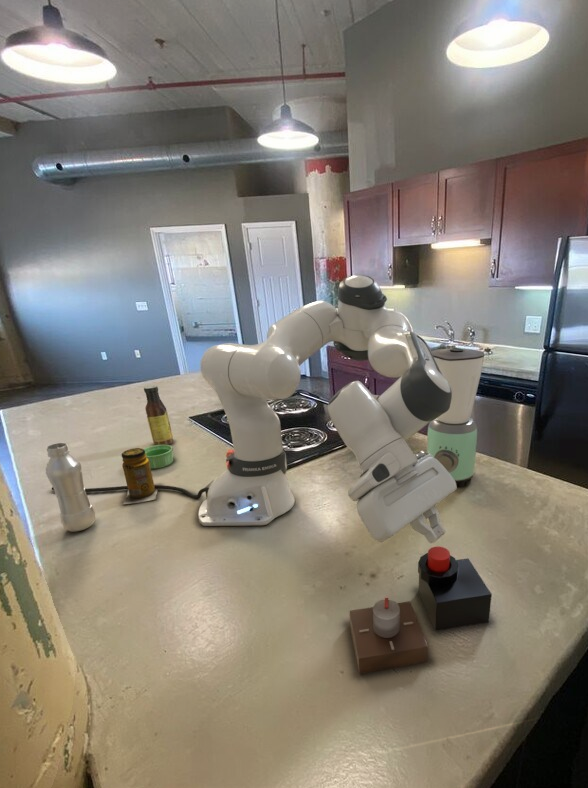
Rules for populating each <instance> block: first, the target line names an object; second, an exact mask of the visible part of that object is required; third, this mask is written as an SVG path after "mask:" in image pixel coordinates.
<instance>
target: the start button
mask: <svg viewBox="0 0 588 788" xmlns="http://www.w3.org/2000/svg"><path fill="white" fill-rule="evenodd" d="M427 553H428V564H427V565H428V568H429V569H430V570H432V571H434V572H439V573H440V572H446V571H447V570H448V569H449V564H450V555H451V552H450V551H449V550H448V549H447V548H446V547H443V546H433V547H430V548H429V549H428V550H427Z"/></svg>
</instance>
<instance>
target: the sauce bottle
mask: <svg viewBox="0 0 588 788" xmlns="http://www.w3.org/2000/svg"><path fill="white" fill-rule="evenodd" d="M143 391H144V393H145V395H146V405H145V414H146V419H147V423H148V427H149V431H150V435H151V438H152V439H151V440H152V442H153V446H155V445H172V444H173V442H174V436H173V432H172V427H171V423H170V417H169V414H168V410H167V407H166V406H165V404H164V403H163V401H162V399H161V397H160V394H159V387H158V385H148V386H144V387H143Z"/></svg>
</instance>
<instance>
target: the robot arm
mask: <svg viewBox="0 0 588 788" xmlns="http://www.w3.org/2000/svg"><path fill="white" fill-rule="evenodd" d="M337 299H338V302H337V307H336V306H334V305H333V304H332V303H330V302H328V301H326V300H317V301H313V302H310V303H307V304H305V305H301V306H300V307H298V308H297V309H295V310H294V311H292V312H290V313H289V314H286V315H285V316H284V317H282V318H281V319H279V320H277V321H276V322H274V323H272V324H271V325H270V326H269V328H268V329H267V331H266V339H265V340H264V341H263V342H260V343H256V344H244V343H243V344H242V343H236V342H235V343H233V342H226V343H225V342H224V343H220V344H216V345H212V346H210V347H208V348H207V349H206V350H205V351H204V353H203V354H202V356H201V359H200V364H199V365H200V372H201V376H202V377H203V378H204V380H205V381H206V382H207V383H208V385H210V386H211V388H212V389H213V390H214V392H215V394H216V396H217V398H218V400H219V402H220V405H221V407H222V409H223V411H224V414H225V416H226V419H227V422H228V425H229V429H230V435H231V440H232V447H233V448H232V449H231V448H230V449H228V450H227V452H226V455H225V457H226V460H225V462H226V463H225V464H226V468H227V469H226V470H225V471H223V472H222V473H221V474H220V475H218V476H217V477H215V478H214V479H213V480H211V481H210V482H209V483H208V484H207V485H206V486H204V487H203V488H201V489H199V491H198V493H197V494H194V493H192V492H190V491H188V490H186V489H184V488H182V487H177V486H173V485H163V484H154V486H155V488H154V489H158V490H169V491H175V492H180V493H183V494H184V495H185V496H187V497H190V498H192V499H196V500H197V499H200V498H201V497H202V495H203V493H205V499H204V500H203V501H202V503H201V504H200V506H199V509H198V516H197V517H198V522H199V524H200V525H202V526H204V527H225V526H228V527H229V526H231V527H232V526H233V527H234V526H236V527H237V526H238V527H239V526H266V525H268V524H270V523H271V522H272V521H273V520H274V519H275V518H278V517H281V516H282V515H285V514H286V513H287V512H288V511H290V510H291V509H292V508H293V507H294V505H295V502H296V500H295V499H296V498H295V497H294V495H293V492H292V489H291V487H290V484H289V479H288V474H287V470H288V463H287V454H286V450H285V448H284V446H283V435H282V427H281V420H280V417H279V416H278V414H277V412H275V410H273V408H272V407H271V406H270V404H269V403H268V401H273V400H284V399H288V398H290V397H292V396H293V395H294V394H295V393H296V392H297V390H298V388H299V387H300V384H301V383H300V382H301V377H302V373H301V365H302V364H304V362H305V361H307V360H308V359H309V358H311V357H312V356H313V355H315V354H316V353H317V352H318V351H320V350H321V349H322V348H323V347H324V346H326V345H327V344H328V343H331V342H333V343H332V344H333V347H334V348H335V350H336V351H337V352H340V353H342V355H344V356H345V357H347V358H349V359H351V360H353V361H356V362H357V361H359V362H363V361H368V362H369V364H370V366H371V368H372V369H373V370H374V371H375V372H376V373H378V374H379V375H380V376H383V377H386V378H392V379H395V378H396V379H397V378H398V379H397V380H395V381H394V383H392V384H391V385H390V386H389V387H388V388H387V389H386V390H385V391H384V392H383V393H382V394H380V395H379V394H373V393H371V391H370V390H369V389H368V388H367V387H366V386H365V385H364V383H362V381H359V380H353V381H350V382H349V383H346V385H344V386H343V387H342V388H340V389H339V390H338V391H337V392H336V393H334V395H333V396H332V397H331V398H330V399H329V401H328V404H327V409H326V410H327V412H328V416H329V418H330V420H331V422H332V424H333V427H334V428H335V430H336V432H337V433H338V436H339V438H341V440H342V442H343V443H344V445H345V446H346V447H347V448H348V449H349V450H350V451H351V452H352V453H353V454H354V456H355V458H356V461H357V464H358V466H359V468H360V470H361V471H362V472H361V474H360V476H358V478H357V479H356V481H354V483H352V485H351V486H350V487H349V489H348V490H347V495H348V497H349V498H350V500H351V501H352V502H356V511H357V513H358V516H359V518H360V520H361V522H362V524H363V525H364V527H365V529H366V530H367V532H368V533H369V535H370V536H371V538H372V539H373V540H375V541H377V542H380V543H383V542H385V541H386V540H389V539H390V538H391V537H393V536H394V535H396V534H397V533H399V532H400V531H402V530H403V529H404V528H405V527H407V526H408V525H410V526H411V527H412V529H413V530H414V531H416V532H418V533H420V534H421V535H423V536H424V537H425V539H426V540H427V542H428V543H429V544H433V543H435V542H437V541H438V540H439V539H440V538H441V537H442V536H444V535H445V534H446V529H445V528H444V527H443V524H442V523H441V517H440V512H439V509H438V507H436V505H437V504H439V503H441V501H443V500H444V499H445V498H447V497H448V496H450V495H451V494H452V493H453V492H455V491H457V489H458V488H457V487H458V485H457V483H456V482H455V480H454V479H453V477H452V476H451V475H450V473H449V472H448V471H447V470H446V469H445V467H444V466H443V465H442V464H441V463H440V462H439V461H438V460H437V459H435V458H434V457H433V456H432V455H431V454H429V453H427V451H424V450H421V451H418V452H417V453H416V454H415V453H414V452H413V450H412V449H411V447H410V445H409V444H408V443H407V441H408V440H409V439H410V438H411V437H413V436H414V435H415V434H417V433H418V432H419V431H421V430H422V429H423V428H424V427H426V426H427V425H429V423H430V422H431V421H432V420H434V419H436V418H437V417H439V416H441V415H442V414H444V413H445V412H447V411H448V410H449V408H450V404H451V398H452V390H451V387H450V385H449V384H448V382H447V380H446V379H445V377H444V376H443V375H442V373H441V372H440V370H439V367H438V365H437V363H436V361H435V359H434V356H433V354H432V352H431V351H432V350H431V348H430V347H429V344H428V343H427V342H426V340H425V339H424V338H423V337H422V336H420V334H418V333H417V332H415V331H413V330H414V329H413V327H412V325H411V322H410V321H409V319H408V318H407V317H406V316H405V314H404V313H402V312H400V311H396V310H388V308H387V307H386V302H387V300H388V298H387V296H386V294H384V293H383V291H382V289H381V287H380V284H379V283H378V282H377V281H376V280H375V279H374V278H373V277H371V276H369V275H363V274H355V275H349V276H347V277H345V278H344V279H343V280H342V281H340V283H339V285H338V290H337ZM51 490H52V491H54V489H53V487H51ZM121 490H123V491H124V490H128V487H127V485H121V486H120V485H119V486H108V487H91V488H85V492H86V493H97V492H112V491H121ZM427 519H428V522H429V525H428V524H427V523H426V520H427Z"/></svg>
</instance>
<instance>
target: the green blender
mask: <svg viewBox="0 0 588 788" xmlns="http://www.w3.org/2000/svg"><path fill="white" fill-rule="evenodd" d="M431 352H432V354H433V356H434V359H435V361H436V363H437V365H438V367H439V370H440V372H441V373H442V375H443V376H444V377H445V379H446V380H447V382H448V384H449V385H450V387H451V390H452V398H451V404H450V408H449V410H448V411H447V412H445V413H444V414H442V415H441V416H439V417H437V418H436V419H434V420H432V421H431V422H429V423H428V427H427V437H426V452H427V453H429V454H431V455H432V456H433V457H434V458H435V459H437V460H438V461H439V462H440V463H441V464H442V465H443V466H444V467H445V469H446V470H447V471H448V472H449V473H450V475H451V476H452V477H453V479H454V480H455V482H456V486H457V487H465V484H466V483H465V482H468V481H469V480H471V479H472V478H473V477H474V476H475V469H476V453H477V442H478V441H477V440H478V426H477V423H476V422H475V420H474V419H473V418H472V413H473V409H474V406H475V405H474V404H475V401H476V397H477V393H478V387H479V384H480V379H481V376H482V371H483V367H484V366H483V365H484V359H485V355H486V353H485V352H484V351H481V350H477V349H470V348H461V347H453V348H439V349H434V350H431Z"/></svg>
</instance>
